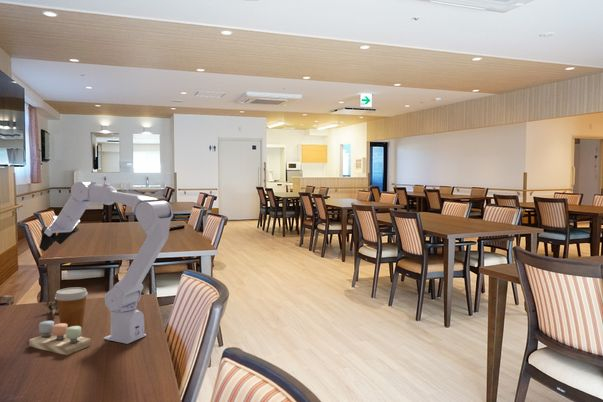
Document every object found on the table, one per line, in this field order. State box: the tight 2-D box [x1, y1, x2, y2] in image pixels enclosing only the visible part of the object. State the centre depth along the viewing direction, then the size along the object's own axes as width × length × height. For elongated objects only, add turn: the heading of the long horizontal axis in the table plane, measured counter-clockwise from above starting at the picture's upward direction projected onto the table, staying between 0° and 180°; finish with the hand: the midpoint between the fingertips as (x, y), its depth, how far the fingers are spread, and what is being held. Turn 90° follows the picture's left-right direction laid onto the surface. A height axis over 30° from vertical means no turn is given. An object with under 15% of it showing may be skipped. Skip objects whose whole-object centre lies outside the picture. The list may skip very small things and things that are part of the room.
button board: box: [28, 332, 92, 356], centre depth 130 cm, size 15×8×2 cm, turn 66°
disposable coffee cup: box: [54, 286, 89, 328], centre depth 146 cm, size 10×10×12 cm
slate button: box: [38, 320, 55, 338], centre depth 132 cm, size 4×4×4 cm
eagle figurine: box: [40, 297, 58, 316], centre depth 161 cm, size 8×7×9 cm
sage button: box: [66, 326, 82, 344], centre depth 128 cm, size 4×4×4 cm
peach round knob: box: [52, 322, 67, 341], centre depth 130 cm, size 4×4×4 cm
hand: (50, 245), depth 145 cm, fingers open, 7 cm apart
